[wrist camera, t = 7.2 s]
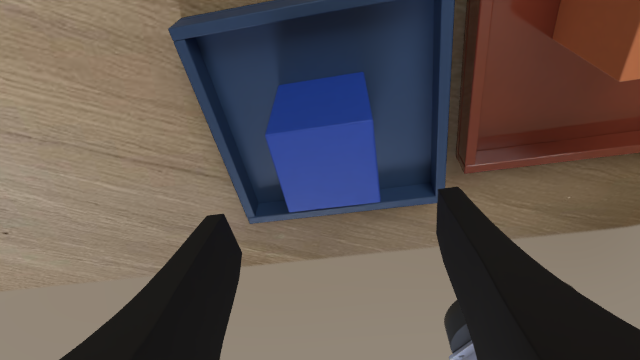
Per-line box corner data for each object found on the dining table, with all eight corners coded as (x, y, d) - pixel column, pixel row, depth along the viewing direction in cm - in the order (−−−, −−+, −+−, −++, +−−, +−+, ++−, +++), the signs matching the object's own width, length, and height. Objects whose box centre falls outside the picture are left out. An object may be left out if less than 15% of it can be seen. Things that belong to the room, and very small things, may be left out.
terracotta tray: (680, 127, 18) (706, 145, 17) (455, 156, 19) (464, 174, 18) (833, -172, 11) (896, -181, 10) (473, -96, 13) (488, -95, 11)
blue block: (371, 144, 19) (381, 202, 15) (296, 154, 19) (288, 213, 16) (363, 70, 16) (373, 119, 13) (277, 84, 17) (263, 135, 13)
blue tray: (437, 183, 21) (444, 202, 19) (254, 205, 22) (249, 224, 21) (445, -33, 14) (456, -26, 13) (180, 17, 15) (167, 28, 14)
